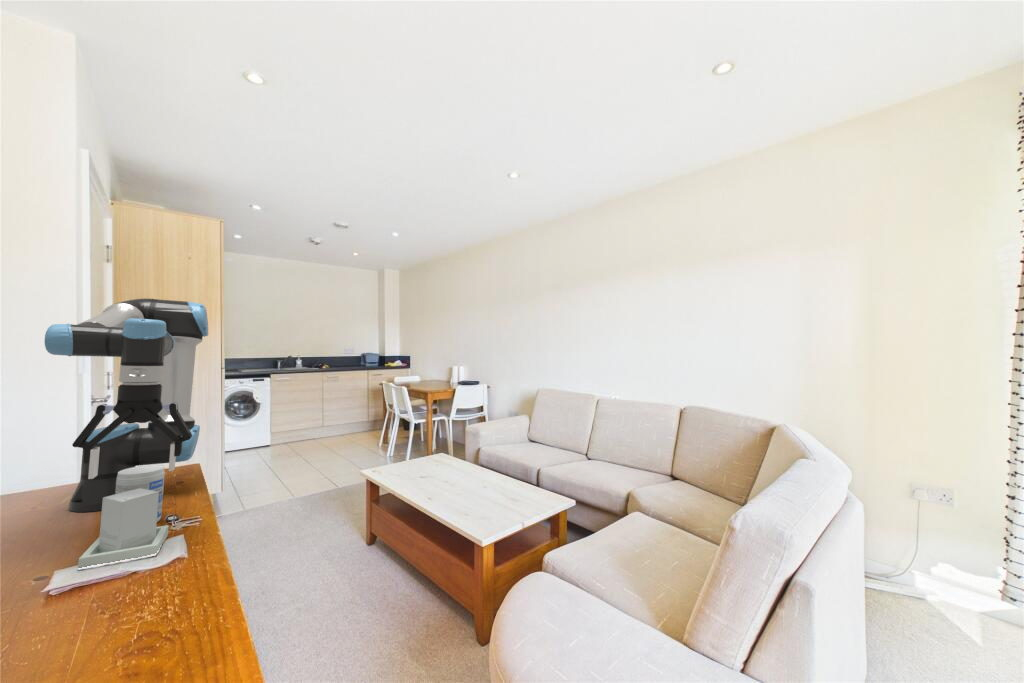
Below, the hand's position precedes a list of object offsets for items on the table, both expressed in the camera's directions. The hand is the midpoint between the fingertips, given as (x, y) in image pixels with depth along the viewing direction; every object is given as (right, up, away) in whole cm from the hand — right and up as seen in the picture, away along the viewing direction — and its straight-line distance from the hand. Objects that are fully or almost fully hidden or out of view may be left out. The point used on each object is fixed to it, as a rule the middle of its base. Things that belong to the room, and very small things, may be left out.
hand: (133, 473), depth 91 cm
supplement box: (0, -18, -1) cm, 18 cm away
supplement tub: (-12, -18, +13) cm, 25 cm away
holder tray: (0, -18, -1) cm, 18 cm away
